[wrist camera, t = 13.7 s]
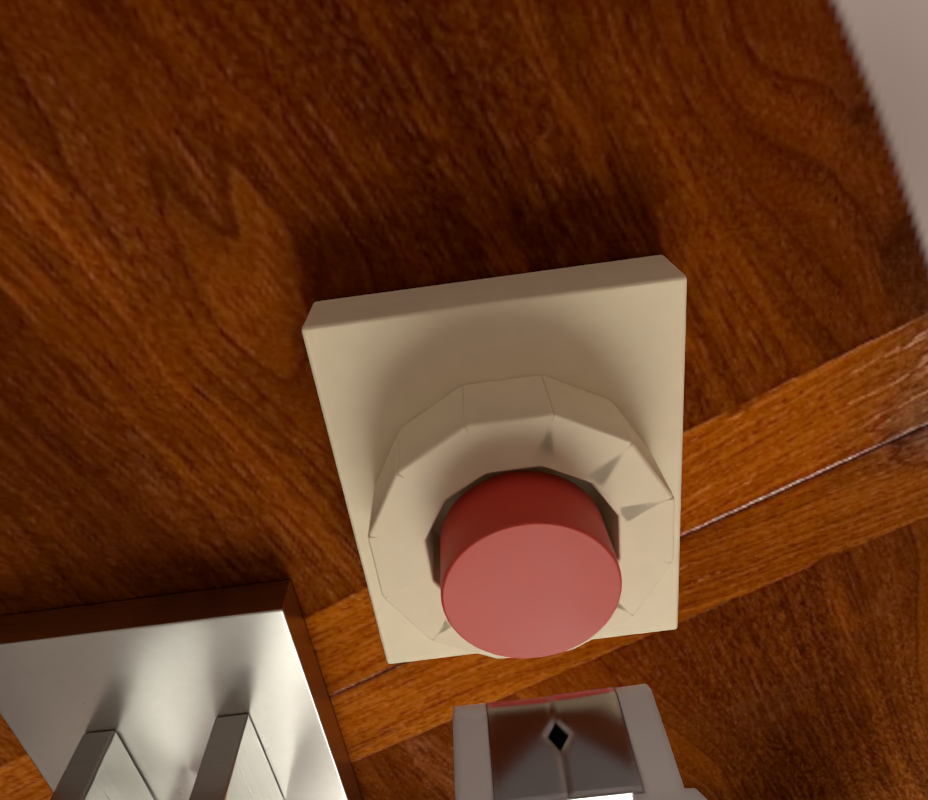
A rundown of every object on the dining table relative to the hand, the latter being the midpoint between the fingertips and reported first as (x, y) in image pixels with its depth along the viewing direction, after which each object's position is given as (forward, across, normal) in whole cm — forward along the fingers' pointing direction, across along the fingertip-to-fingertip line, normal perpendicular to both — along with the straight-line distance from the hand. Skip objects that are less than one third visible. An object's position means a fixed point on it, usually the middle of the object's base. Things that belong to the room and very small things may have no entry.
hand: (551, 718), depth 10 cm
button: (+5, 0, 0) cm, 5 cm away
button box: (+8, 0, 0) cm, 8 cm away
